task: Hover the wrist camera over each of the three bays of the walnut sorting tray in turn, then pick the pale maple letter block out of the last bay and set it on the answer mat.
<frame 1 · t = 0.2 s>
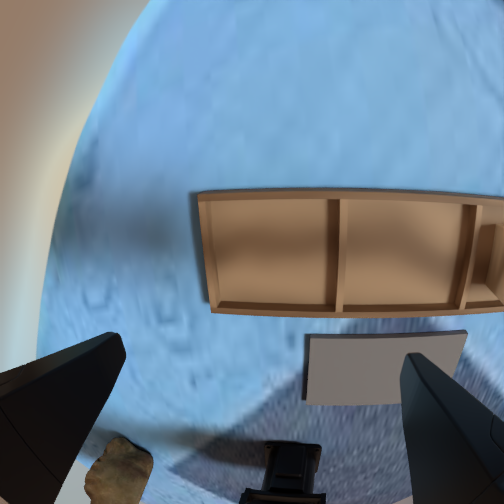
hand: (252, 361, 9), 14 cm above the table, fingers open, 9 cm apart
answer mat: (386, 370, 24), on the table
sculpture: (134, 453, 39), on the table
bay tray: (407, 252, 20), on the table
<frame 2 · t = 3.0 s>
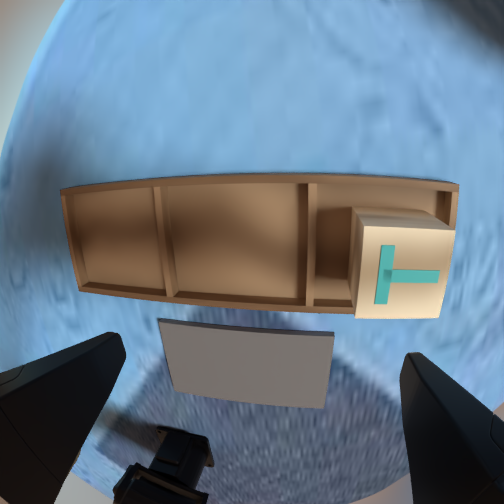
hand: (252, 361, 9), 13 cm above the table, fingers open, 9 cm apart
letter block: (386, 245, 19), resting on bay tray
answer mat: (245, 366, 25), on the table
bay tray: (238, 239, 21), on the table
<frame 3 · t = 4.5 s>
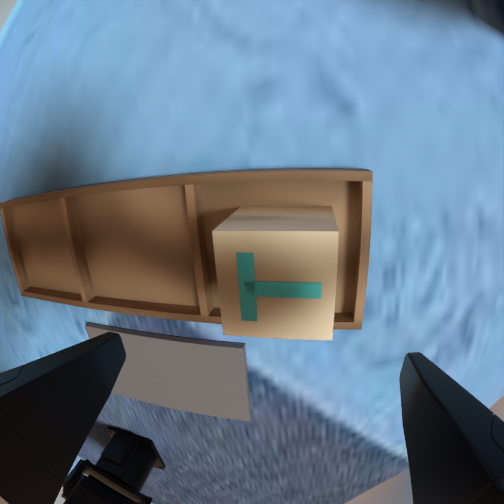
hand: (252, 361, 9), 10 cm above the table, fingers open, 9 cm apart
letter block: (286, 249, 17), resting on bay tray
answer mat: (165, 372, 23), on the table
bay tray: (136, 246, 20), on the table
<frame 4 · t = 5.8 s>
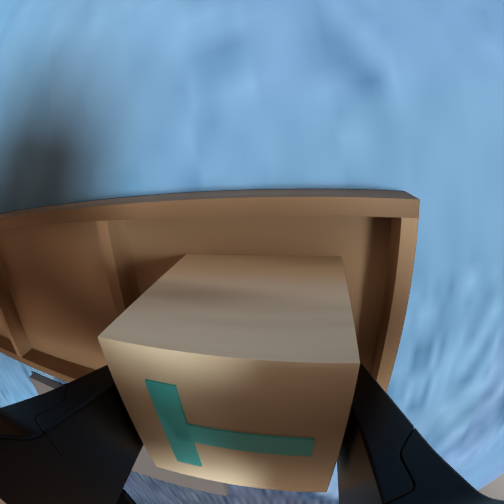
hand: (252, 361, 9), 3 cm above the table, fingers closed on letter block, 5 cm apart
letter block: (263, 323, 10), resting on bay tray, touching gripper
answer mat: (123, 438, 16), on the table
bay tray: (62, 296, 13), on the table
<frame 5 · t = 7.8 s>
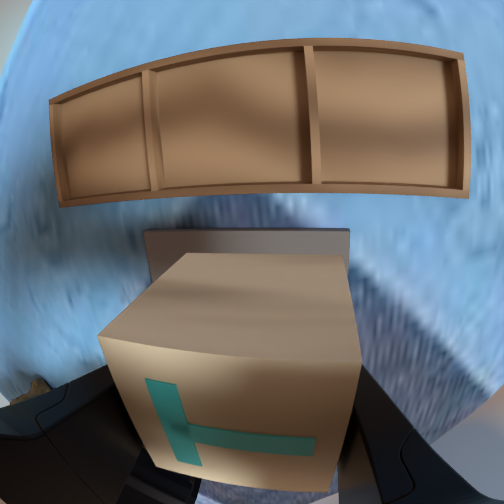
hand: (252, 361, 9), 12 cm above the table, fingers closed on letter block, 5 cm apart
letter block: (264, 322, 10), point 10 cm above the table, touching gripper
answer mat: (244, 283, 21), on the table
sculpture: (57, 402, 37), on the table
bay tray: (231, 119, 18), on the table
when the fingers open (4 cm above the table, at t = 10.1 s): letter block drops 2 cm, resting on answer mat.
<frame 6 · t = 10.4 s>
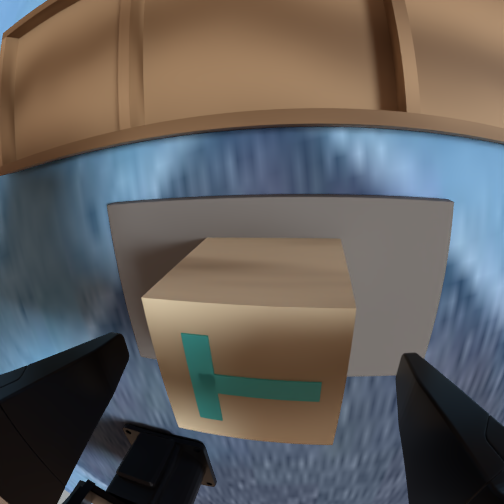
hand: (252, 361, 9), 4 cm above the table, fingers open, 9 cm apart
letter block: (273, 298, 12), point 1 cm above the table, touching answer mat
answer mat: (273, 291, 13), on the table
bay tray: (259, 19, 9), on the table
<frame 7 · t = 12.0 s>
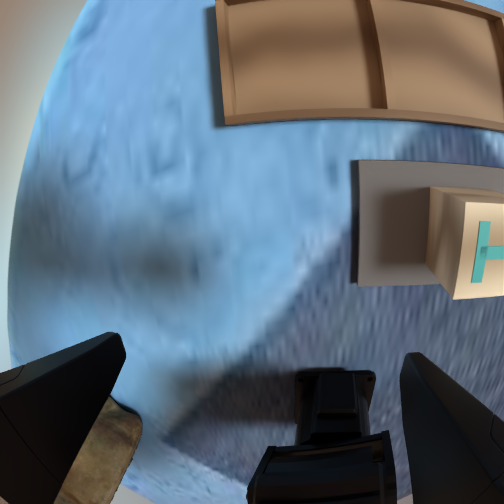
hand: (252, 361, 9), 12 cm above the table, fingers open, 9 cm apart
letter block: (461, 226, 16), point 1 cm above the table, touching answer mat
answer mat: (456, 224, 17), on the table
sculpture: (119, 419, 32), on the table
bay tray: (449, 60, 13), on the table
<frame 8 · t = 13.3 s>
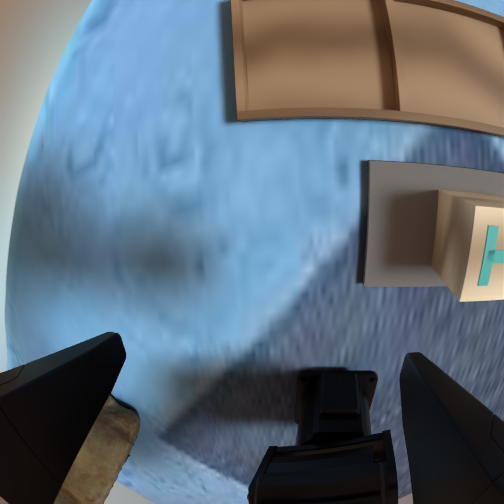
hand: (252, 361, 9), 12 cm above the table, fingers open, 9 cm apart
letter block: (467, 230, 16), point 1 cm above the table, touching answer mat
answer mat: (462, 227, 17), on the table
sculpture: (116, 415, 32), on the table
bay tray: (460, 65, 13), on the table
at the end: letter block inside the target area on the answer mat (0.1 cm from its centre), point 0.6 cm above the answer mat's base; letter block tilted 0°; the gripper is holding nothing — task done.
